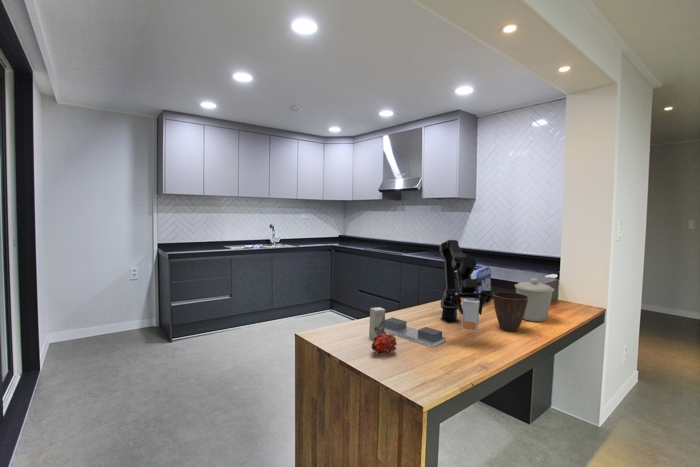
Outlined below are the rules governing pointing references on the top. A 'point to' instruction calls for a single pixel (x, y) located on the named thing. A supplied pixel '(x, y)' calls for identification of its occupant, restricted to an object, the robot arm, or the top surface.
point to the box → (376, 322)
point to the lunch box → (482, 279)
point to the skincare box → (470, 314)
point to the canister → (535, 299)
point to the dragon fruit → (384, 343)
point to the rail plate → (414, 332)
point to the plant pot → (509, 309)
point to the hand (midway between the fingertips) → (471, 314)
